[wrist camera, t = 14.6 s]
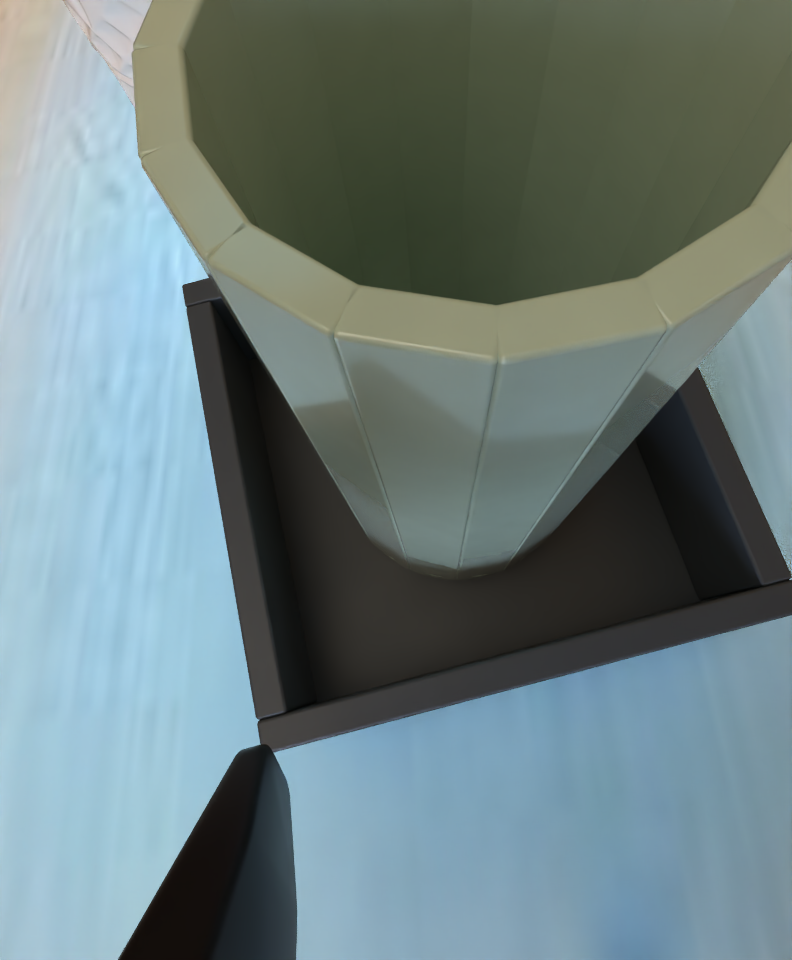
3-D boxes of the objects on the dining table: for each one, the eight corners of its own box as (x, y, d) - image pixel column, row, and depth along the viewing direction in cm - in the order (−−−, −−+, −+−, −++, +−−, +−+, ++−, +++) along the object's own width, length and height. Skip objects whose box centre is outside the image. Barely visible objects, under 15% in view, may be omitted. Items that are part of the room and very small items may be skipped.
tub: (724, 622, 17) (809, 610, 13) (303, 734, 17) (261, 756, 13) (579, 264, 20) (612, 171, 16) (230, 355, 20) (181, 283, 16)
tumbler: (549, 602, 17) (879, 424, 4) (322, 555, 17) (23, 287, 5) (580, 389, 18) (881, -195, 6) (372, 355, 19) (244, -221, 7)
